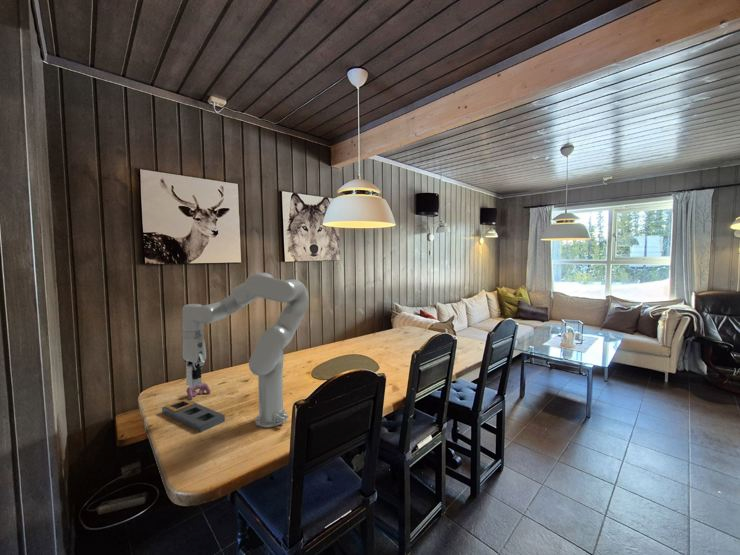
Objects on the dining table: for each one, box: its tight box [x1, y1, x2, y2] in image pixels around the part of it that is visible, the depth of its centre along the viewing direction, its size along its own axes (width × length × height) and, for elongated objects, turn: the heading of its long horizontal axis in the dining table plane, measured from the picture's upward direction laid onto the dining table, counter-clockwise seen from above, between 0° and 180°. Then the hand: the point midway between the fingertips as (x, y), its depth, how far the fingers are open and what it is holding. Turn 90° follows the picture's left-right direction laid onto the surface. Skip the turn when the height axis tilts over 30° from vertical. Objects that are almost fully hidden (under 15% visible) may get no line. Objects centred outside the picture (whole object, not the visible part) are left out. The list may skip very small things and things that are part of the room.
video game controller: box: [186, 381, 211, 400], centre depth 153 cm, size 10×5×7 cm, turn 141°
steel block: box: [185, 363, 202, 387], centre depth 129 cm, size 4×4×8 cm
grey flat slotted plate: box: [161, 398, 226, 433], centre depth 131 cm, size 30×10×3 cm, turn 58°
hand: (193, 376), depth 129 cm, fingers closed on steel block, 4 cm apart
